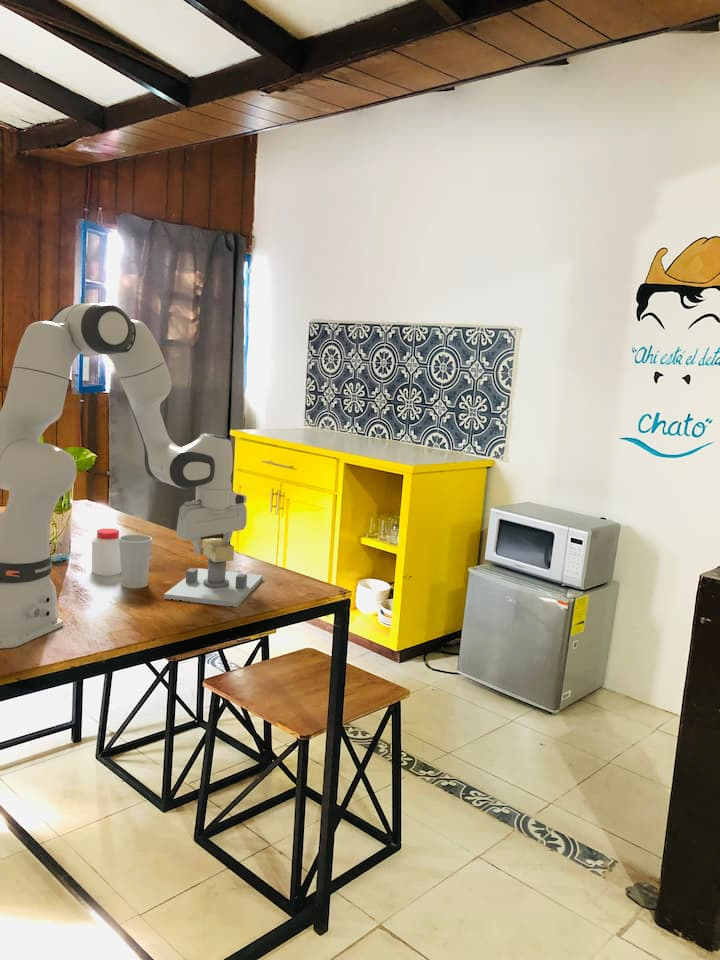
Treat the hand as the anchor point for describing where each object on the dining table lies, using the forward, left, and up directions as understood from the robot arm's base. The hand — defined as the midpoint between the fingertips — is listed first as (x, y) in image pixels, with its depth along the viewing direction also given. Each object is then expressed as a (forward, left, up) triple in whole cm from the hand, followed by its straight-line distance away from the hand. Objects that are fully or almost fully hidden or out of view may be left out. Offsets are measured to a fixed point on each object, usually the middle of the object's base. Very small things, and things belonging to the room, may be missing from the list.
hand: (211, 551), depth 200 cm
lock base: (-1, -2, -9) cm, 10 cm away
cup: (-5, +18, -9) cm, 21 cm away
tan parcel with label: (-1, -2, -2) cm, 3 cm away
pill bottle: (+3, +29, -10) cm, 31 cm away
